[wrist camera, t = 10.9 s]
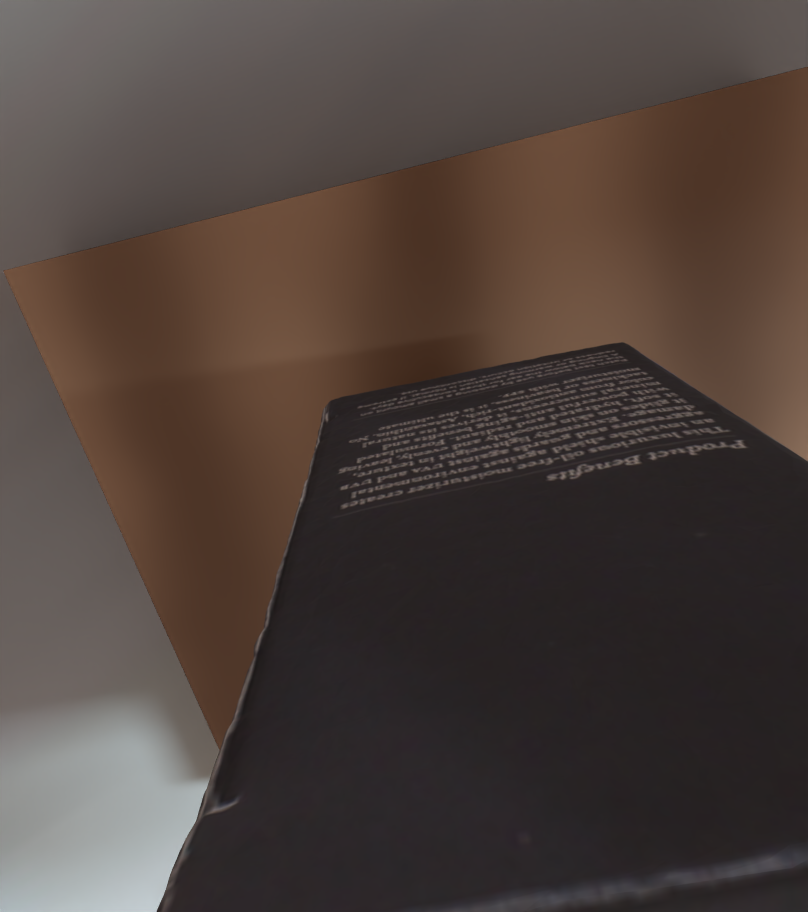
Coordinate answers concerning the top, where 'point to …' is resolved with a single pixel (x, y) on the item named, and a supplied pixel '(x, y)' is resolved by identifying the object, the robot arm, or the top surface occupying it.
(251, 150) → the top surface
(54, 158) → the top surface
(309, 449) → the base board
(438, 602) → the small box
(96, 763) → the top surface
